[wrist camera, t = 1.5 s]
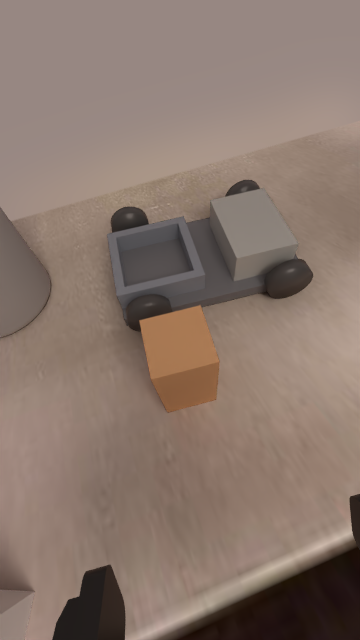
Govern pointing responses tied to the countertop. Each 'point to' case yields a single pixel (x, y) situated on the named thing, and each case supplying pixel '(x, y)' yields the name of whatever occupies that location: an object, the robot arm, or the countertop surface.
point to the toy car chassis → (204, 256)
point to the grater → (15, 613)
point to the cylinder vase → (19, 280)
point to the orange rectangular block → (181, 358)
